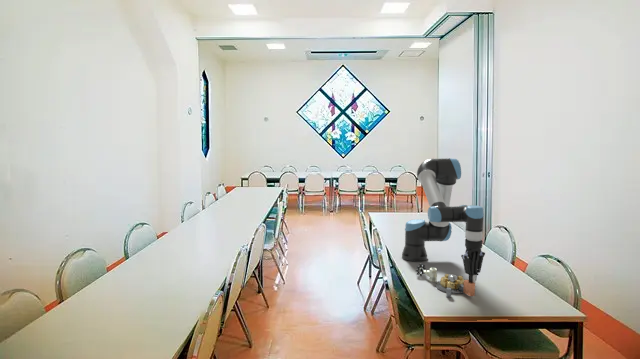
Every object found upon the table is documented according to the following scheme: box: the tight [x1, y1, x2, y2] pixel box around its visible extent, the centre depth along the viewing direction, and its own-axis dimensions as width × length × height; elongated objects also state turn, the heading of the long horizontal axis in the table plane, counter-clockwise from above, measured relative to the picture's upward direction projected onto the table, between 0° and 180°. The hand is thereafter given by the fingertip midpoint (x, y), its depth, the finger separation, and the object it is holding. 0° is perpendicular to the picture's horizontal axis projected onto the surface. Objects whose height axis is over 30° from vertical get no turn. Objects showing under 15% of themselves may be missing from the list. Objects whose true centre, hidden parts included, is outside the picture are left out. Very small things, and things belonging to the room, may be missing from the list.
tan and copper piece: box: [439, 273, 476, 297], centre depth 206 cm, size 21×11×6 cm, turn 19°
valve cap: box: [435, 274, 464, 295], centre depth 211 cm, size 16×16×6 cm
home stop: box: [445, 288, 452, 299], centre depth 200 cm, size 2×2×4 cm
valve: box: [415, 263, 438, 283], centre depth 224 cm, size 7×7×12 cm
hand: (472, 287), depth 200 cm, fingers closed
